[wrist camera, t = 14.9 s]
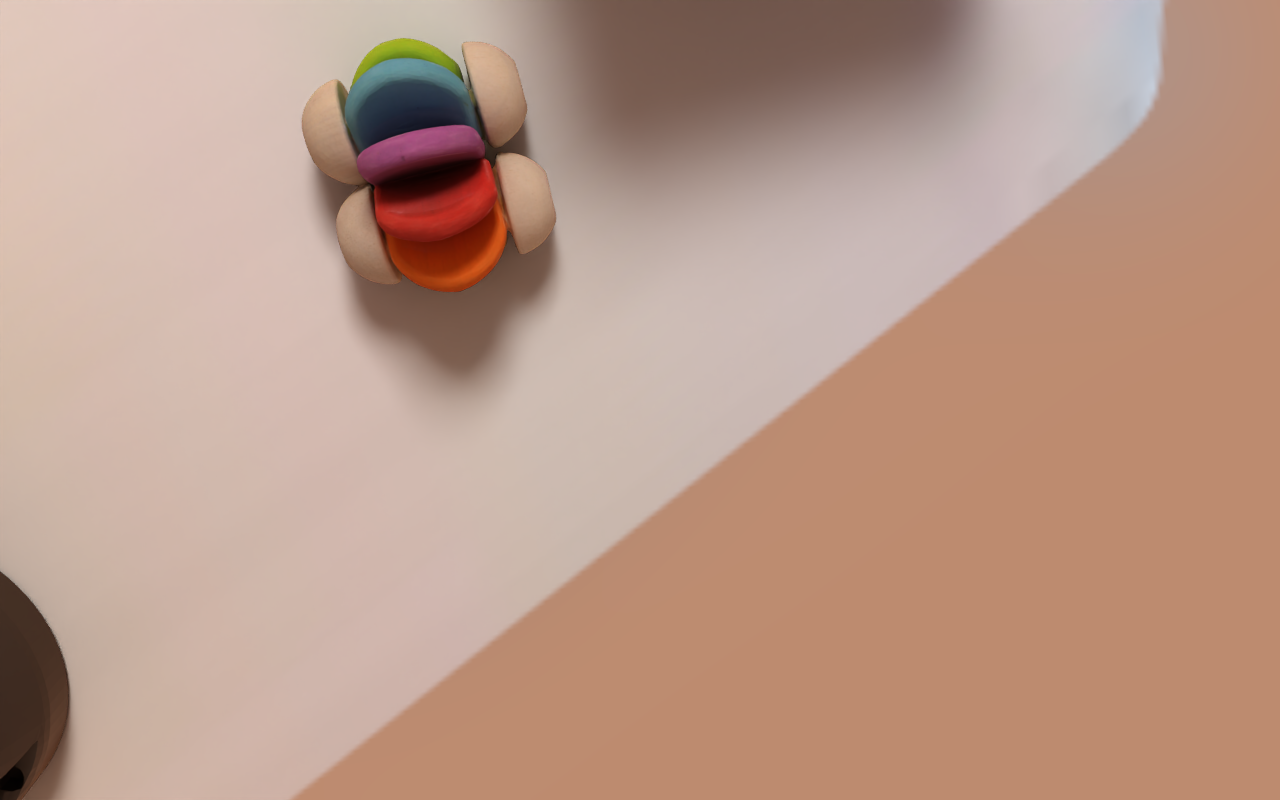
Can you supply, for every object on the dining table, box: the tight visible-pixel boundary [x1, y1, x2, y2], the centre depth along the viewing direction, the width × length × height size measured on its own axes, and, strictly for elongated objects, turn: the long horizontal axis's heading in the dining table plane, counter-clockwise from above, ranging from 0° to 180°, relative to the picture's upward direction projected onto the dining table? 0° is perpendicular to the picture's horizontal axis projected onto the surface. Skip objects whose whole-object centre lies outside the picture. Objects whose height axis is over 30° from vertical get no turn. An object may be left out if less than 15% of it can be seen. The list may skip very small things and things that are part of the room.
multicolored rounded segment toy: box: [302, 38, 556, 292], centre depth 40 cm, size 8×10×7 cm
